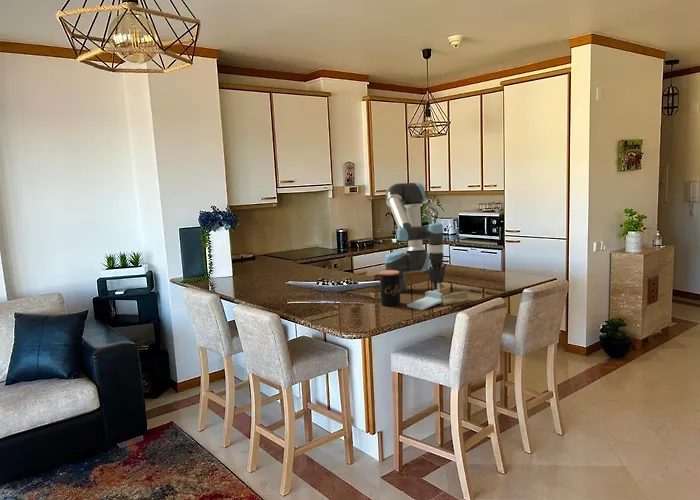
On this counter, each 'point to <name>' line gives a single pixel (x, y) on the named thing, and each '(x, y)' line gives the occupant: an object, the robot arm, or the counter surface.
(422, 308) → the cover plate
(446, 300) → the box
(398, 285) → the coffee jar
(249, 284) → the counter surface
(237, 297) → the counter surface
